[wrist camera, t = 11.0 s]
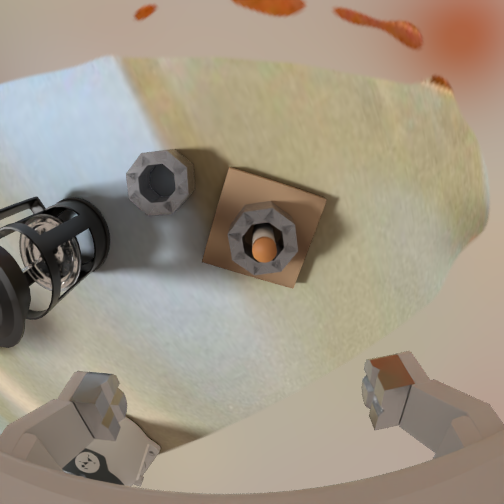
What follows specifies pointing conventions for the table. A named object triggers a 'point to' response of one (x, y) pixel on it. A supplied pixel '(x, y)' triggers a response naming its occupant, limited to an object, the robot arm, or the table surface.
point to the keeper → (263, 234)
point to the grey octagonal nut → (243, 250)
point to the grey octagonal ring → (141, 185)
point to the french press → (45, 258)
